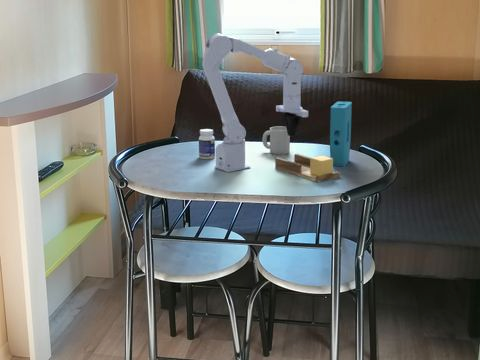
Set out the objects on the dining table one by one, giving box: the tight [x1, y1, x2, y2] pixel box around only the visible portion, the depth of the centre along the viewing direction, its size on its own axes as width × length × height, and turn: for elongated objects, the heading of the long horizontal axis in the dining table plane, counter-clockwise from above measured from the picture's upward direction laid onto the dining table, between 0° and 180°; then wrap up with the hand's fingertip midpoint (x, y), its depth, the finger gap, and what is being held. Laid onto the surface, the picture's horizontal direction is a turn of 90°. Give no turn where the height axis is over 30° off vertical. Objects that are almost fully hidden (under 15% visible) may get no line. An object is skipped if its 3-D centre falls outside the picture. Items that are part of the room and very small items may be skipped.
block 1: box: [310, 155, 334, 176], centre depth 213 cm, size 5×5×5 cm
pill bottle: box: [198, 128, 216, 160], centre depth 238 cm, size 6×6×10 cm
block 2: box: [329, 101, 353, 167], centre depth 228 cm, size 12×5×20 cm, turn 160°
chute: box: [274, 153, 341, 183], centre depth 219 cm, size 9×21×4 cm, turn 35°
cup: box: [261, 125, 291, 156], centre depth 244 cm, size 7×10×9 cm
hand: (291, 135), depth 227 cm, fingers closed
